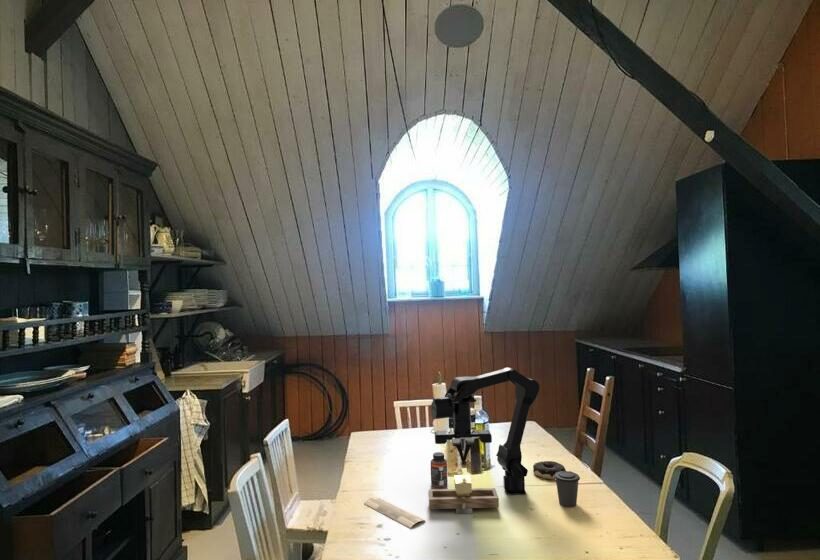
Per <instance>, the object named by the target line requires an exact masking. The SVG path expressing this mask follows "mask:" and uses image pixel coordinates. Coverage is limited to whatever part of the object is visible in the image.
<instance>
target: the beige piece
mask: <svg viewBox="0 0 820 560" xmlns="http://www.w3.org/2000/svg"><path fill="white" fill-rule="evenodd" d="M363 504H364V505H366V506H367V507H369V508H371V509H372V510H375V511H377V512H378V513H380V514H382V515H384V516H386V517H388V518H390V519H391V520H394V521H396V522H398V523H399V524H401V525H403V526H405V527H407V528H409V529H412V527H413V526H414V525H415V524H417V523H418V522H422V523H425V522H426V520H425V519H424V518H421V517H420V516H418V515H416V514H413V513H411V512H410V511H407V510H406V509H405V510H404V509H403V508H401V507H399V506H397V505H395V504H393V503H391V502H389V501H387V500H384V498H383V499H382V498H381V497H377V496H376V497H375V496H374V497H370V498H368V499H366V500H365V501H364V502H363Z"/></svg>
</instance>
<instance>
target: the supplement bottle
mask: <svg viewBox="0 0 820 560" xmlns="http://www.w3.org/2000/svg"><path fill="white" fill-rule="evenodd" d="M432 457H433V458H432V459H431V460H430V485H431V486H432V487H433V488H437V489H444V488H446V487H447V486H448V462H447V461H448V460H447V459H446V458H445V453H444V452H441V451H436V452H433V454H432Z"/></svg>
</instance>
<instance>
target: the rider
mask: <svg viewBox="0 0 820 560" xmlns="http://www.w3.org/2000/svg"><path fill="white" fill-rule="evenodd" d="M454 489H455V490H456V493H457V497H463V496H465V497H470V493H472V489H473V488H472V480H471V477H470V474H469V475H468V474H465V475H464V474H462V475H460V474H459V475H455V474H454Z"/></svg>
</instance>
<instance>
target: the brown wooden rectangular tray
mask: <svg viewBox="0 0 820 560" xmlns="http://www.w3.org/2000/svg"><path fill="white" fill-rule="evenodd" d="M499 499H500V498H499V495H498V493H497V490H496V488H495V487H487V488H486V487H483V488H482V487H481V488H479V487H477V488H472V493H470V497H465V496H463V497H457V493H456V490H455V488H437V489H435V488H434V489H433V488H431V489H430V488H429V489H428V505H429V507H428V509H429V510H437V509H439V510H440V509H441V510H442V509H446V510H447V509H455V514H456V515H471V514H472V515H473V509H489V508H490V509H491V508H492V509H493V508H500V500H499Z"/></svg>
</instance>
